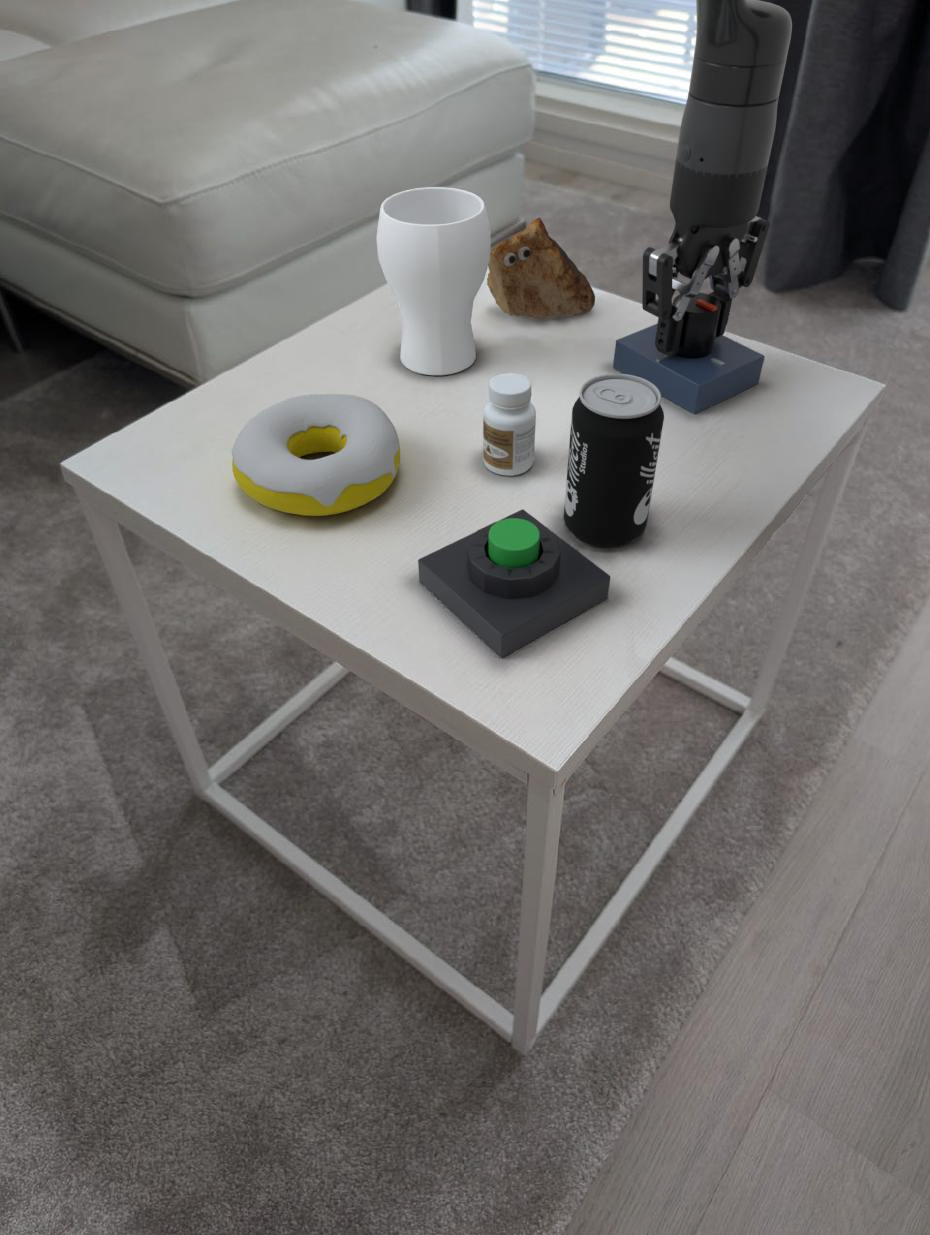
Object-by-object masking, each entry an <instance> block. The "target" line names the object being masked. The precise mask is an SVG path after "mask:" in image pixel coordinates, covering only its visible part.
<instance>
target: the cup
mask: <svg viewBox="0 0 930 1235" xmlns="http://www.w3.org/2000/svg"><path fill="white" fill-rule="evenodd" d="M488 217H489V216H488V212H487V208H486V203H485V202H484V201H483V199H482V197H480V196H478V195H477V194H475V193H473V192H471V191H469V190H464V189H461V188H455V187H444V186H427V187H415V188H411V189H407V190H402V191H399V192H397V193H393V194H392V195H390V196H388V197H386V198H385V200H383V201H382V203H381V205H380V209H379V215H378V222H377V230H376V237H375V238H376V250H377V259H378V262H379V265H380V268H381V270H382V273H383V276H384V278H385V281H386V283H387V286H388V287H389V289H390V291H391V292H392V294H393V296H394V297H395V299H396V301H397V302H398V305H399V311H400V316H401V321H402V333H401V342H400V355H399V358H400V361H401V364H402V365H403V366H404V367H405V368H406V369H407V370H410V371H412V372H413V373H418V374H420V375H429V376H446V375H452V374H457V373H459V372H462V371H465V370H466V369H468V368H469V367H471V366H472V365H473V364H474V362H475V360H476V359H477V350H476V344H475V343H476V342H475V338H474V332H473V326H472V316H473V308H474V300H475V298H476V296H477V294H478V293H479V291H480V289H481V287H482V285H483V283H484V281H485V278H486V275H487V271H488V269H489V268H488V264H489V261H490V252H491V246H492V245H491V241H492V240H491V238H492V236H491V235H492V234H491V231H492V230H491V226H490V222H489V218H488Z"/></svg>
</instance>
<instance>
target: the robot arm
mask: <svg viewBox="0 0 930 1235" xmlns="http://www.w3.org/2000/svg"><path fill="white" fill-rule="evenodd" d="M695 9H696V10H695V11H696V12H695V13H696V35H695V45H694V52H693V60H692V66H691V71H690V72H691V73H690V80H689V87H688V88H689V89H688V92H687V97H686V102H685V106H684V110H683V114H682V117H681V122H680V127H679V133H678V141H677V150H676V157H675V163H674V169H673V176H672V177H673V178H672V185H671V192H670V200H669V209H670V211H671V214H672V215H673V218H674V223H675V224H674V228H673V230H672V233H671V235H670V238H669V241H668V243H667V244H666V245H664V246H662V247H661V248H659V249H656V248H653V247H651V246H649V247H647V248H646V249H645V250H644V252H643V254H642V298H641V299H642V301H641V302H642V303H641V304H642V305H641V307H642V310H643V311H644V312H646V313H649V314H650V315H652V316H655V317H656V318H657V323H658V324H657V323H656V324H657V331H656V332H657V333H656V338H655V346H656V348H657V350H658V351H659V352H661V353H663V354H665V355H667V356H668V357H672V356H674V355H676V354H678V350H679V344H680V338H681V332H682V326H683V320H684V319H682V317H683V315H684V313H685V311H686V309H687V306H688V304H689V302H690V300H691V298H692V297H695V296H697V295H698V293H700V291H701V288H702V286H703V284H704V282H705V281H706V280H707V279H708V280H709V286H710V290H711V291H712V292H709V293H708V294H709V295H712V296H714V297H716V298H717V299H719V300H720V302H721V310H720V315H719V320H718V326H717V331H716V336H715V337H719V336H721V335H723V336H724V335H725V333H726V332H725V331H726V327H727V324H728V323H729V318H730V312H731V307H732V303H733V299H735V298H736V297H738V294H739V291H740V289H741V288H742V287H743V288H749V287H750V286H751V285H752V283H753V280H754V277H755V274H756V271H757V267H758V264H759V261H760V258H761V255H762V252H763V248H764V245H765V242H766V239H767V235H768V232H769V229H770V225H771V224H770V222H769V221H768V220H766V219H763V218H762V217H759V216H757V215H758V213H759V210H760V206H761V201H762V196H763V191H764V187H765V181H766V176H767V171H768V167H769V162H770V157H771V152H772V147H773V142H774V138H775V132H776V126H777V117H778V116H777V114H778V104H779V99H780V98H779V97H780V93H781V89H782V83H783V78H784V73H785V69H786V65H787V64H786V63H787V60H788V59H787V58H788V54H789V49H790V44H791V39H792V31H793V21H792V17H791V14H790V13H789V12H788V10H786V8H784V7H782V6H780V5H777V4H775V3H772V2H769V1H765V0H695ZM742 259H745V265H744V267H743V270H742V269H741V260H742ZM679 274H680V275H681V276H683V277H685V278H686V279H689V281H688V282H687V283H686V282H684V281H682V280H680V279H679V277H678V276H679ZM676 291H677V292H678V293H679V294H678V295H679V297H678V300H677V302H676V304H673V297H674V295H675V292H676Z"/></svg>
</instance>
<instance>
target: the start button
mask: <svg viewBox="0 0 930 1235" xmlns="http://www.w3.org/2000/svg"><path fill="white" fill-rule="evenodd" d="M500 520H501V519H500ZM497 521H498V522H497ZM497 521H496V522H497V523H495V524H494V525H493V526H492V527H491V528H490V530H489V550H488V552H489V557H490V558H491V560H492V561H493V562H494V563H495V564H497V565H499V566H503V567H507V568H510V569H511V568H522V567H527V566H529V565H531V564H533V563H534V562H535V561H536V560H537V558H538V555H539V542H540V532H539V530H538V528H537V527H536V526H535V525H534V524H533V523H531V522H529V521H527V520H524V519H518V518H509V519H504V520H501V521H499V520H497Z"/></svg>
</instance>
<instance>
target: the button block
mask: <svg viewBox="0 0 930 1235" xmlns="http://www.w3.org/2000/svg"><path fill="white" fill-rule="evenodd" d="M509 518H518V519H524V520H527V521H529V522H531V523H533V524H534V525H535V526H536V527H537V528H538V530H539V532H540V542H539V555H538V558H537V560H536V561H535V562H534V563H533V564H531V565H529V566H527V567H522V568H511V569H510V568H507V567H503V566H499V565H497V564H495V563H494V562H493V561H492V560H491V558H490V557H489V552H488V550H489V530H490V528H491V527H492V526H493V525H494V524H495V523H497V522H498V521H501V520H504V519H509ZM417 566H418V580H419V583H420V584H421V585H423V587H425V588H426V590H428V591H429V592H430V593H431V594H432V595H434V597H435V598H436V599H438V601H440V603H442V604H443V605H444V606H445V607H446V608H447V609H448V610H449V611H451V613H452V614H453V615H454V616H456V618H458V619H459V620H460V621H461V622H462V623H463V624H464V625H465V626H467V627H468V628H469V629H470V630H471V631H472V633H474V634H475V635H476V636H477V637H478V638H479V639H480V640H481V641H482V642H483V643H485V644H486V645H487V647H489V648H490V649H491V650H492V651H493V652H494V653H495V654H496V655H497V656H498V657H500V658H504V657H506V656H508V655H509V654H511V653H514V652H515V651H517V650H519V649H520V648H522V647H524V646H526V645H527V644H529V643H531V642H533V641H535V640H536V639H538V638H540V637H542V636H543V635H545V634H547V633H549V632H550V631H552V630H554V629H556V628H557V627H559V626H561V625H563V624H564V623H567V622H568V621H569V620H572V619H573V618H575V617H577V616H579V615H581V614H583V613H584V612H586V611H588V610H589V609H591V608H593V607H594V606H596V605H598V604H600V603H602V602H603V601H605V600H607V599H608V598H609V593H610V592H609V591H610V584H611V575H610V574H608V573H607V572H606V571H604V570H603V569H602V568H600V567H599V566H598V565H597V564H595V563H594V562H592V561H591V560H590V559H589V558H587V557H586V556H585V555H584V554H582V553H581V552H579V551H578V550H577V549H576V548H575V547H573V546H572V545H571V544H569V543H568V542H566V541H565V540H564V539H563V538H561V537H560V536H559V535H558V534H556V533H555V532H554V531H552V530H551V529H550V528H548V527H547V526H546V525H544V523H542V522H540V521H539V520H538V519H537V518H535V517H534V516H533V515H531V514H530V513H529V512H527V511H526V510H525V509H523V508H522V509H520V510H518V511H516V512H514V513H512V514H509V515H508V516H505V517H504V518H501V519H499V520H497V521H494V522H491V523H489V524H488V525H486V526H484V527H482V528H480V529H478V530H476V531H474V532H472V533H470V534H468V535H466V536H464V537H462V538H460V539H458V540H456V541H453V542H452V543H450V544H447V545H445V546H443V547H441V548H439V549H436V550H435V551H433V552H430V553H428V554H427V555H425V556H422V557H421V558H419V559H418V560H417Z"/></svg>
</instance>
